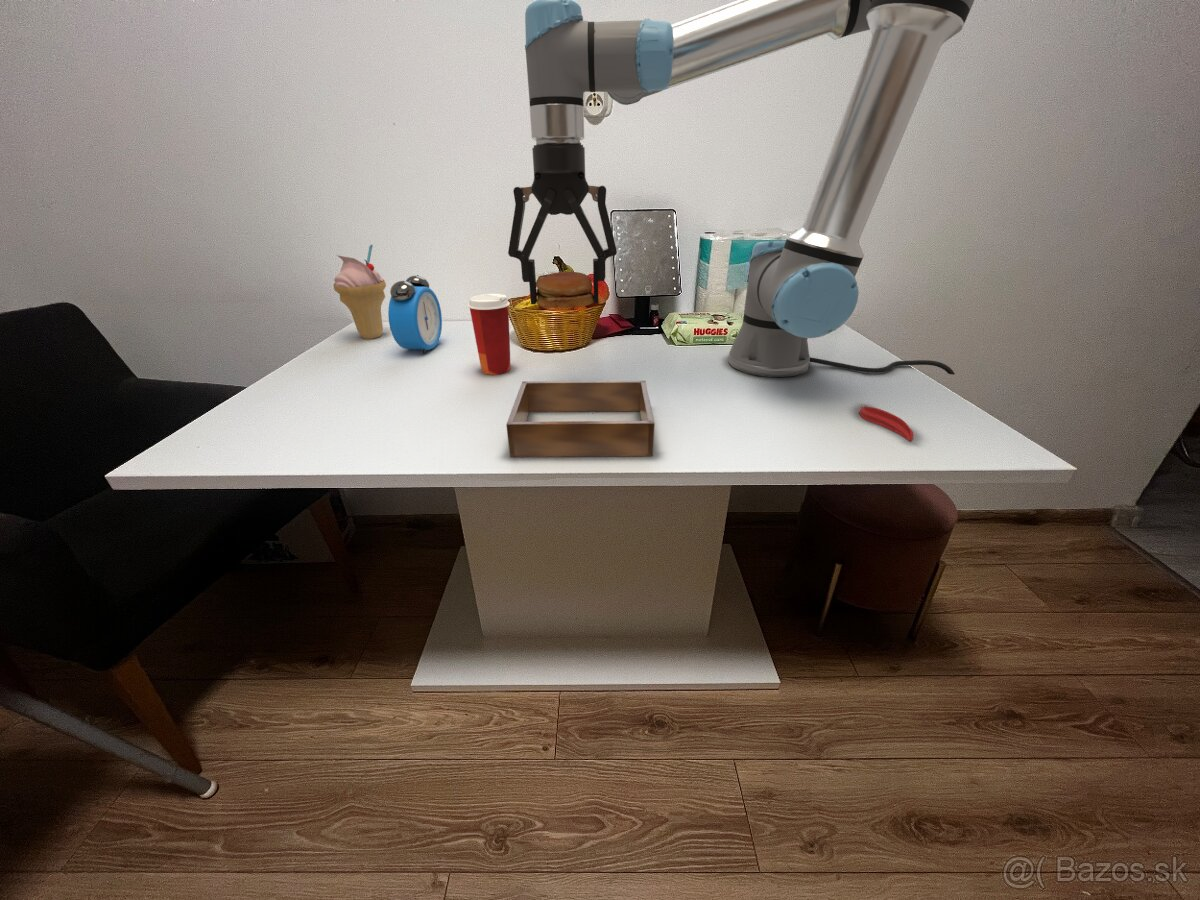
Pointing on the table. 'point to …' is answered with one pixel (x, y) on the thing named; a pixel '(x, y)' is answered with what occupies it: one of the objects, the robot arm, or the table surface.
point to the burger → (564, 290)
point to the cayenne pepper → (886, 421)
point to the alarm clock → (414, 314)
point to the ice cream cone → (362, 294)
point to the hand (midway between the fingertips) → (565, 302)
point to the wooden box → (581, 434)
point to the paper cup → (491, 331)
